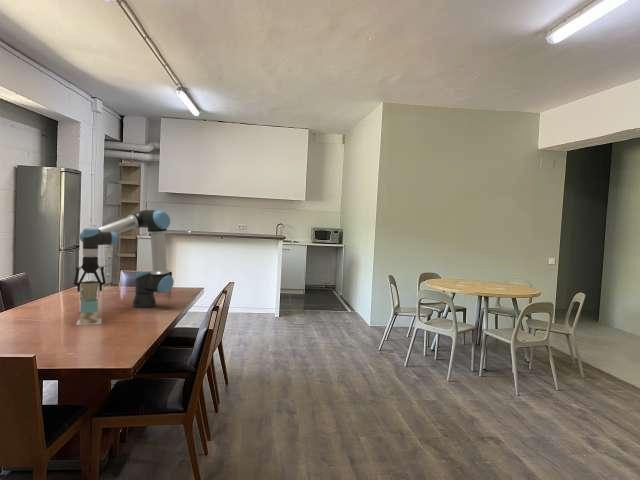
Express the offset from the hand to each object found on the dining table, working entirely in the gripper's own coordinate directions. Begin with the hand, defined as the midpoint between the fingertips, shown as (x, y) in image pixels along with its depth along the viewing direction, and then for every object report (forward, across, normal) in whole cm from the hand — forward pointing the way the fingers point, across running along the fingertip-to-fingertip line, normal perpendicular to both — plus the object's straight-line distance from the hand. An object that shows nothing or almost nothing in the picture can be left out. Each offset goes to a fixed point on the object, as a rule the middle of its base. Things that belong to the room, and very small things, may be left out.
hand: (89, 297), depth 245 cm
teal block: (+8, 0, 0) cm, 8 cm away
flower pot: (+1, 0, 0) cm, 1 cm away
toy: (+15, +2, -31) cm, 34 cm away
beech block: (+14, 0, 0) cm, 14 cm away
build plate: (+15, 0, 0) cm, 15 cm away
